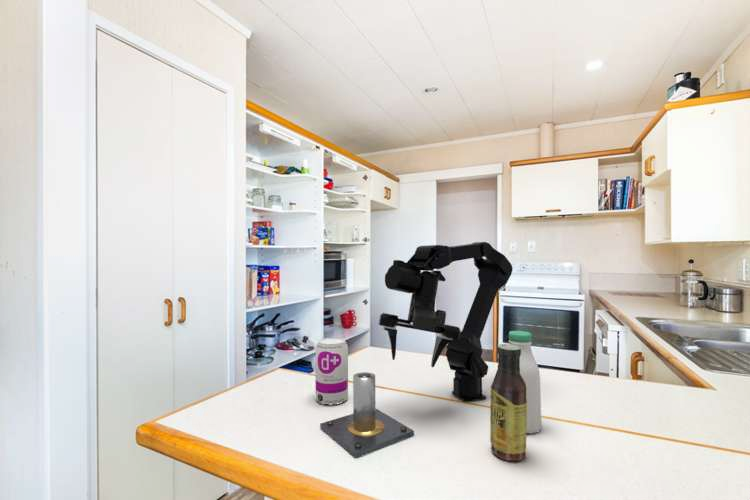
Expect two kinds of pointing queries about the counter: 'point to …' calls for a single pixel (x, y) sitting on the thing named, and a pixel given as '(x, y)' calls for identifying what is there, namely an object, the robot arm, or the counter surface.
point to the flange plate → (366, 434)
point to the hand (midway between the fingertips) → (412, 363)
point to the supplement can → (331, 370)
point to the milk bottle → (529, 378)
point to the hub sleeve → (364, 402)
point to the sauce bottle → (508, 406)
